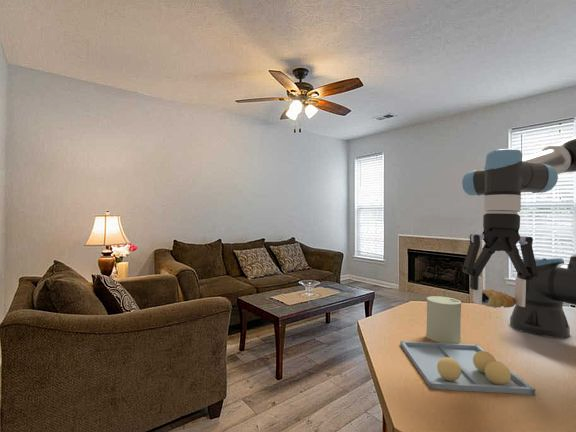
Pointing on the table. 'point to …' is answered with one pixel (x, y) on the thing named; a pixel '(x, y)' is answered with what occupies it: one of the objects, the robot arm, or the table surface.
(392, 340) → the table surface
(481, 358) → the ball
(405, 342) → the sorting tray
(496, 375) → the ball
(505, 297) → the pastry
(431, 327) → the can
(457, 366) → the ball far
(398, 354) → the table surface
